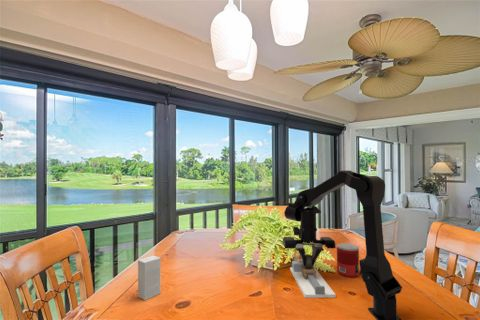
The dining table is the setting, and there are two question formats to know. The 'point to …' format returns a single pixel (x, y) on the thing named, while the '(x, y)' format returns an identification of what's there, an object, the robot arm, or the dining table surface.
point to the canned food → (348, 260)
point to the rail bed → (309, 288)
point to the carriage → (308, 267)
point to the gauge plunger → (298, 256)
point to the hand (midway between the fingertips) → (308, 265)
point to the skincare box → (149, 277)
